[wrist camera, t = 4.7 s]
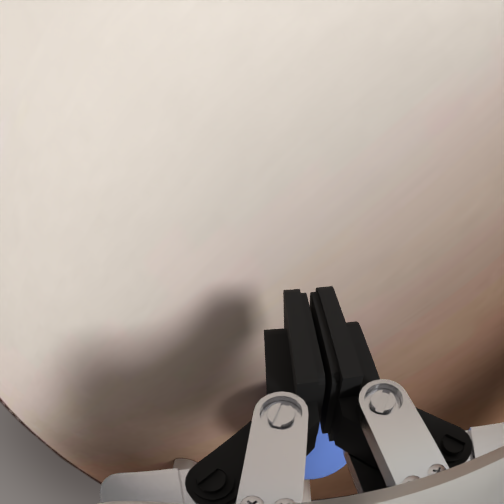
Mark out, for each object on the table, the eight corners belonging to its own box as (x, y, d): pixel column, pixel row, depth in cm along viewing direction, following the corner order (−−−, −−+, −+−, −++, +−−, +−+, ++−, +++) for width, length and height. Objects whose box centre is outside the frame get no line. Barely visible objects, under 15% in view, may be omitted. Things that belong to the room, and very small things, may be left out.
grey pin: (171, 457, 25) (157, 536, 17) (196, 459, 24) (185, 540, 17) (177, 466, 26) (166, 540, 18) (201, 468, 26) (192, 544, 18)
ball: (254, 364, 18) (252, 458, 12) (358, 356, 17) (382, 444, 12) (260, 418, 20) (260, 494, 15) (345, 411, 20) (358, 485, 15)
